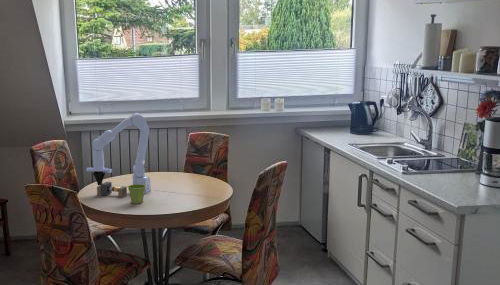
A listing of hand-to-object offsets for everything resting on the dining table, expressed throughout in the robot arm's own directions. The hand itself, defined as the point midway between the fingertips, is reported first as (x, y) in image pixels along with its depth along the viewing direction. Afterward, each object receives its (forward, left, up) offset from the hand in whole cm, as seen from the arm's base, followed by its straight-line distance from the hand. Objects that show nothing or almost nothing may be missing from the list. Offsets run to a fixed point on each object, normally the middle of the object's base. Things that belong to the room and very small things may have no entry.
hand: (99, 184), depth 291 cm
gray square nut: (-4, 0, -5) cm, 7 cm away
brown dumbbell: (-7, 0, -5) cm, 9 cm away
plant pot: (-27, +9, -5) cm, 29 cm away
